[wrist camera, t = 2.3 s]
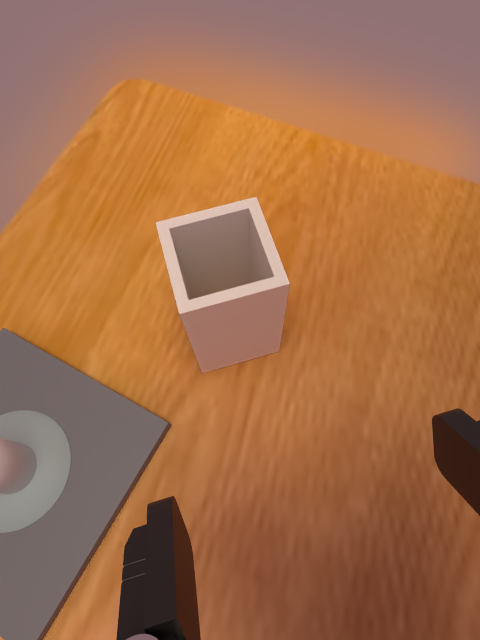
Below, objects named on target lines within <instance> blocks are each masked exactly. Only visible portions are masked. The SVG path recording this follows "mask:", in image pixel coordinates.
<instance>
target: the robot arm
mask: <svg viewBox="0 0 480 640" xmlns="http://www.w3.org/2000/svg"><path fill="white" fill-rule="evenodd" d="M432 428H433V443H434V457H435V461H436V464H437V466H438V468H439V470H440V472H441V473H442V475H443V476H444V477H445V478H446V479H447V480H448V482H449V483H450V484H451V485H452V486H453V487H454V488H455V489H456V490H457V491H458V493H459V494H460V495H461V496H462V497H463V498H464V499H465V500H466V501H467V502H468V503H469V505H470V506H471V507H472V508H473V509H474V510H475V511H476V512H477V513H478V514H479V516H480V420H479V421H475V420H474V419H472V418H471V417H470V416H469V415H468V414H466V413H465V412H464V411H462V410H461V409H454V410H451V411H448V412H444V413H441V414H438V415H435V416H433V418H432ZM123 565H124V568H123V573H122V584H121V596H120V607H119V618H118V630H117V640H201V639H200V627H199V616H198V605H197V594H196V582H195V571H194V560H193V552H192V546H191V542H190V538H189V535H188V532H187V529H186V526H185V524H184V521H183V518H182V515H181V513H180V510H179V507H178V504H177V502H176V499H175V497H174V496H172V497H168V498H165V499H162V500H159V501H156V502H152V503H149V504H148V507H147V525H144V526H140V527H137V528H134V529H133V531H132V533H131V535H130V537H129V539H128V541H127V543H126V545H125V550H124V561H123Z"/></svg>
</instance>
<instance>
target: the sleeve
mask: <svg viewBox="0 0 480 640" xmlns="http://www.w3.org/2000/svg"><path fill="white" fill-rule="evenodd" d="M156 226H157V229H158V233H159V237H160V241H161V245H162V249H163V253H164V257H165V261H166V265H167V268H168V272H169V276H170V280H171V284H172V288H173V292H174V296H175V300H176V303H177V307H178V311H179V315H180V317H181V320H182V322H183V325H184V328H185V330H186V333H187V335H188V338H189V341H190V343H191V346H192V348H193V351H194V353H195V356H196V359H197V361H198V364H199V366H200V369H201V371H202V373H206V372H209V371H213V370H216V369H219V368H223V367H226V366H230V365H233V364H237V363H240V362H244V361H247V360H251V359H254V358H258V357H261V356H265V355H268V354H272V353H275V352H279V348H280V342H281V336H282V329H283V323H284V317H285V310H286V304H287V298H288V292H289V285H290V283H289V281H288V278H287V275H286V273H285V270H284V268H283V265H282V262H281V260H280V257H279V255H278V252H277V249H276V247H275V244H274V242H273V239H272V236H271V234H270V231H269V229H268V226H267V223H266V221H265V218H264V216H263V213H262V210H261V208H260V205H259V203H258V200H257V197H254V198H250V199H246V200H242V201H238V202H234V203H230V204H226V205H222V206H218V207H214V208H211V209H207V210H203V211H199V212H195V213H191V214H187V215H183V216H179V217H175V218H171V219H167V220H163V221H159V222H156Z"/></svg>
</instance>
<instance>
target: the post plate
mask: <svg viewBox="0 0 480 640" xmlns="http://www.w3.org/2000/svg"><path fill="white" fill-rule="evenodd" d="M170 426H171V425H170V424H169V423H168V422H167V421H165V420H163V419H161V418H160V417H158V416H156V415H154V414H153V413H151V412H149V411H147V410H146V409H144V408H142V407H140V406H139V405H137V404H135V403H133V402H132V401H130V400H128V399H126V398H125V397H123V396H121V395H120V394H118V393H116V392H114V391H113V390H111V389H109V388H107V387H106V386H104V385H102V384H100V383H99V382H97V381H95V380H93V379H92V378H90V377H88V376H86V375H85V374H83V373H81V372H79V371H78V370H76V369H74V368H72V367H71V366H69V365H67V364H66V363H64V362H62V361H60V360H59V359H57V358H55V357H53V356H52V355H50V354H48V353H46V352H45V351H43V350H41V349H39V348H38V347H36V346H34V345H32V344H31V343H29V342H27V341H25V340H24V339H22V338H20V337H19V336H17V335H15V334H13V333H12V332H10V331H8V330H6V329H5V328H3V329H2V330H1V331H0V636H1V637H2V638H3V639H5V640H43V638H44V636H45V635H46V633H47V631H48V630H49V628H50V626H51V625H52V623H53V621H54V620H55V618H56V616H57V615H58V613H59V611H60V610H61V608H62V606H63V605H64V603H65V601H66V600H67V598H68V596H69V595H70V593H71V591H72V590H73V588H74V586H75V585H76V583H77V581H78V580H79V578H80V576H81V575H82V573H83V571H84V570H85V568H86V566H87V565H88V563H89V561H90V560H91V558H92V556H93V555H94V553H95V551H96V550H97V548H98V546H99V545H100V543H101V541H102V540H103V538H104V536H105V535H106V533H107V531H108V530H109V528H110V526H111V525H112V523H113V521H114V520H115V518H116V516H117V515H118V513H119V511H120V510H121V508H122V506H123V505H124V503H125V501H126V500H127V498H128V496H129V495H130V493H131V491H132V490H133V488H134V486H135V485H136V483H137V481H138V480H139V478H140V476H141V475H142V473H143V471H144V470H145V468H146V466H147V465H148V463H149V461H150V460H151V458H152V456H153V455H154V453H155V451H156V450H157V448H158V446H159V445H160V443H161V441H162V440H163V438H164V436H165V435H166V433H167V431H168V430H169V428H170Z"/></svg>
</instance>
